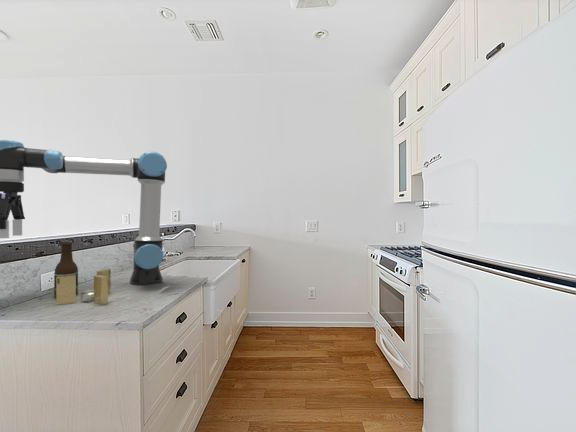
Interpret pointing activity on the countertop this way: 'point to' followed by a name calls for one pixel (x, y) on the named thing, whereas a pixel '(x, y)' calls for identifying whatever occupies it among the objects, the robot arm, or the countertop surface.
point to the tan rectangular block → (65, 289)
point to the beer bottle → (66, 265)
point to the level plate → (87, 296)
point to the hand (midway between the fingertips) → (11, 236)
